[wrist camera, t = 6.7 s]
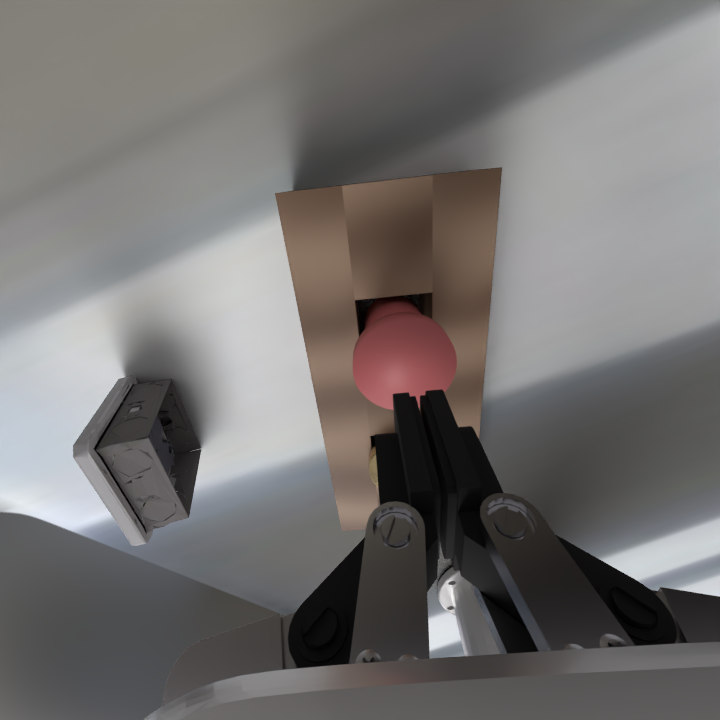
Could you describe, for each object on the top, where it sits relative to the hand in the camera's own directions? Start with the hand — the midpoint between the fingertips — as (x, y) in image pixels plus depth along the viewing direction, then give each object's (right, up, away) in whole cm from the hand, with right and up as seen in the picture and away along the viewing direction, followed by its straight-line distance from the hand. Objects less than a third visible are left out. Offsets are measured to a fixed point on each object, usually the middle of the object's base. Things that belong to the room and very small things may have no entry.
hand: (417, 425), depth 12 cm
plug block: (+1, +2, +15) cm, 15 cm away
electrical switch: (-18, -2, +18) cm, 25 cm away
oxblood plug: (0, +5, +10) cm, 11 cm away
